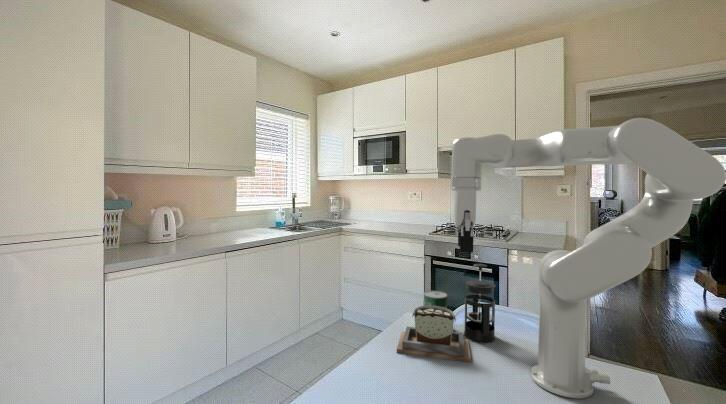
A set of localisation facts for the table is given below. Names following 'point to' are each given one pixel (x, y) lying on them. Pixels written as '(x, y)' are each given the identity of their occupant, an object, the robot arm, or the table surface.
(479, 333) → the french press
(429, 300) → the canned tomato
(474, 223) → the robot arm
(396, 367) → the table surface
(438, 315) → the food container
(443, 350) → the wooden tray
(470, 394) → the table surface
